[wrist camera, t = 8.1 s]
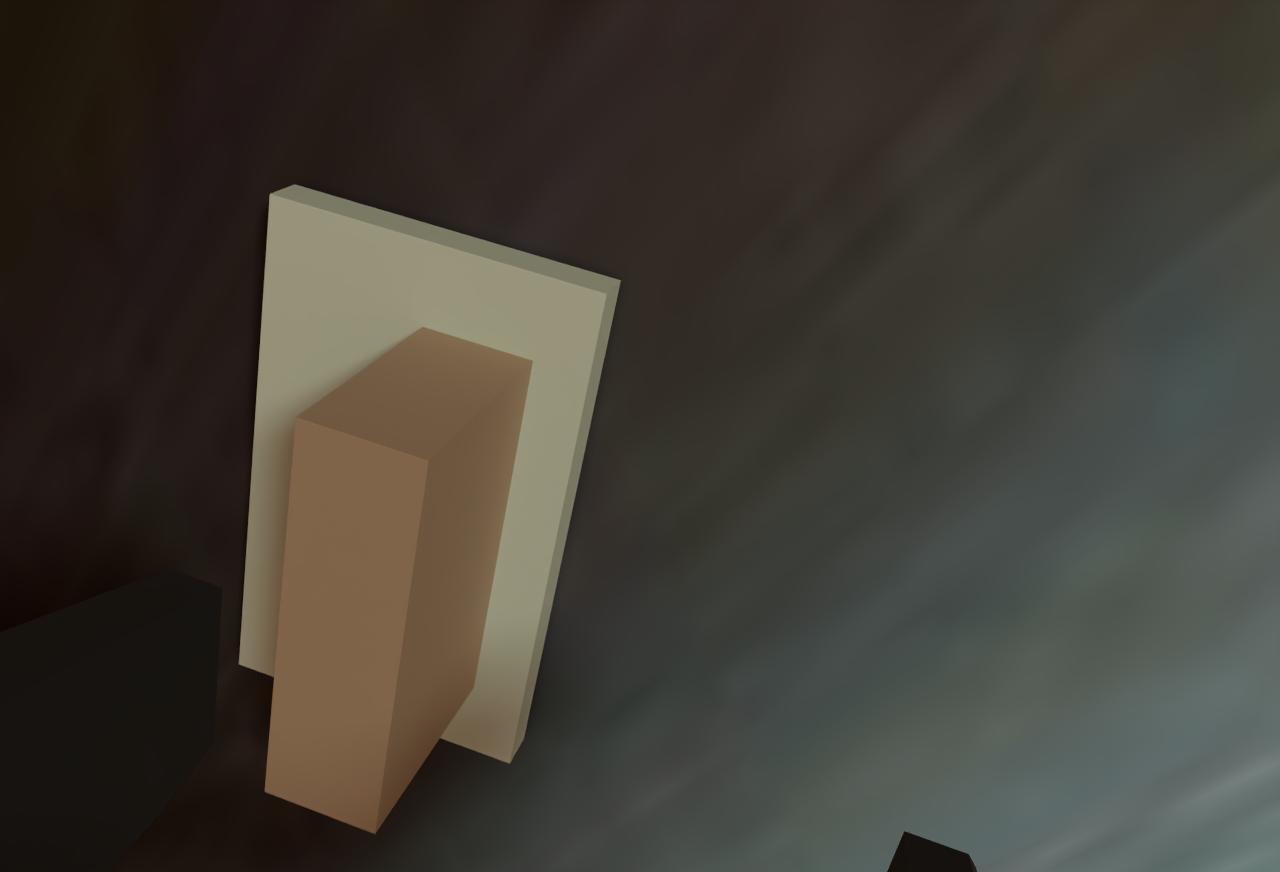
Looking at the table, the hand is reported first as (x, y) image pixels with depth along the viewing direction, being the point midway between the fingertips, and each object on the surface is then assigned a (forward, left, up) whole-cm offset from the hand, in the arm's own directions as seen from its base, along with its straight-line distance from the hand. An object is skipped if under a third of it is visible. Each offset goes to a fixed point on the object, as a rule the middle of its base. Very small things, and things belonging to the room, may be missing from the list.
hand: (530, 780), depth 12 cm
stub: (-3, +5, -9) cm, 11 cm away
